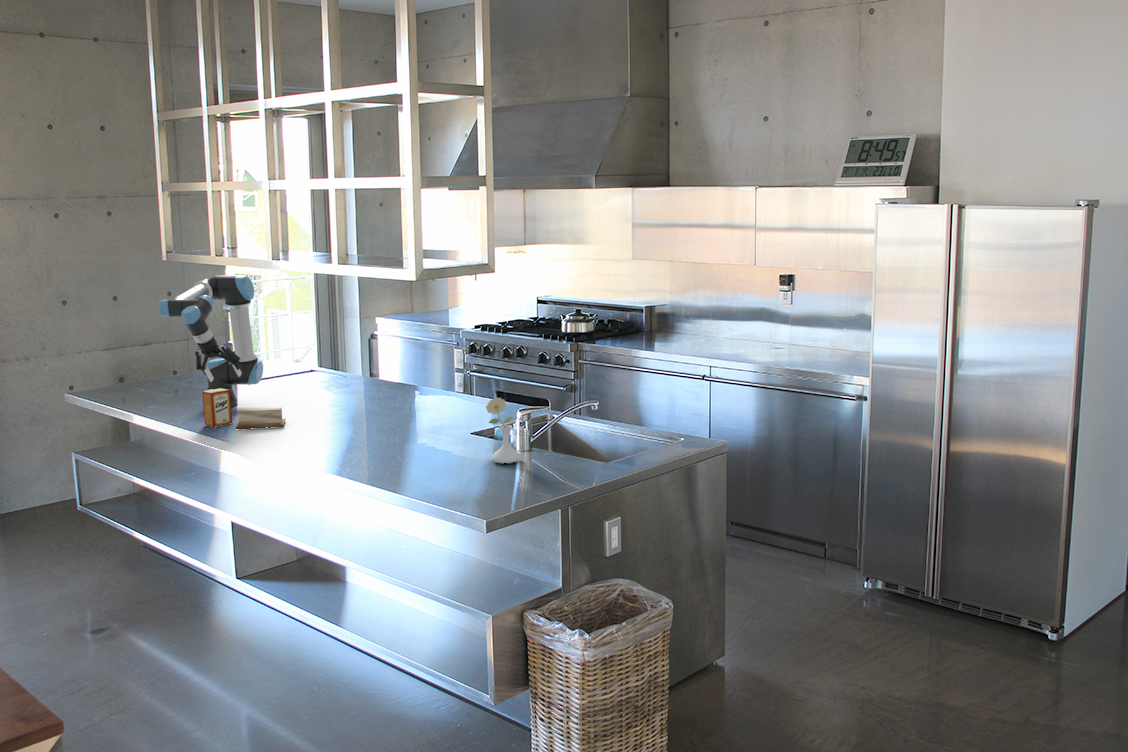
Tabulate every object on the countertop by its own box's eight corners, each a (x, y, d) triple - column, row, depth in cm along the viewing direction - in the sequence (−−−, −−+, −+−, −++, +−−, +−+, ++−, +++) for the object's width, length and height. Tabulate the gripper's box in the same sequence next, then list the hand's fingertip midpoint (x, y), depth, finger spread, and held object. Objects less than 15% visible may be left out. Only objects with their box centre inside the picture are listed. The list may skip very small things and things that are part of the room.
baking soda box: (223, 421, 427) (220, 387, 424) (232, 423, 423) (229, 388, 420) (205, 425, 419) (202, 390, 417) (213, 427, 416) (211, 392, 413)
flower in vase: (521, 457, 362) (520, 394, 357) (521, 465, 350) (520, 400, 346) (487, 458, 361) (486, 394, 357) (486, 466, 350) (484, 400, 346)
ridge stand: (239, 424, 422) (238, 407, 421) (285, 421, 426) (284, 405, 425) (235, 430, 411) (234, 413, 409) (283, 427, 415) (282, 411, 413)
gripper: (175, 349, 405) (197, 387, 418) (228, 339, 401) (249, 377, 414) (181, 339, 411) (203, 377, 424) (233, 329, 407) (254, 367, 420)
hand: (226, 377), depth 419 cm, fingers open, 13 cm apart
